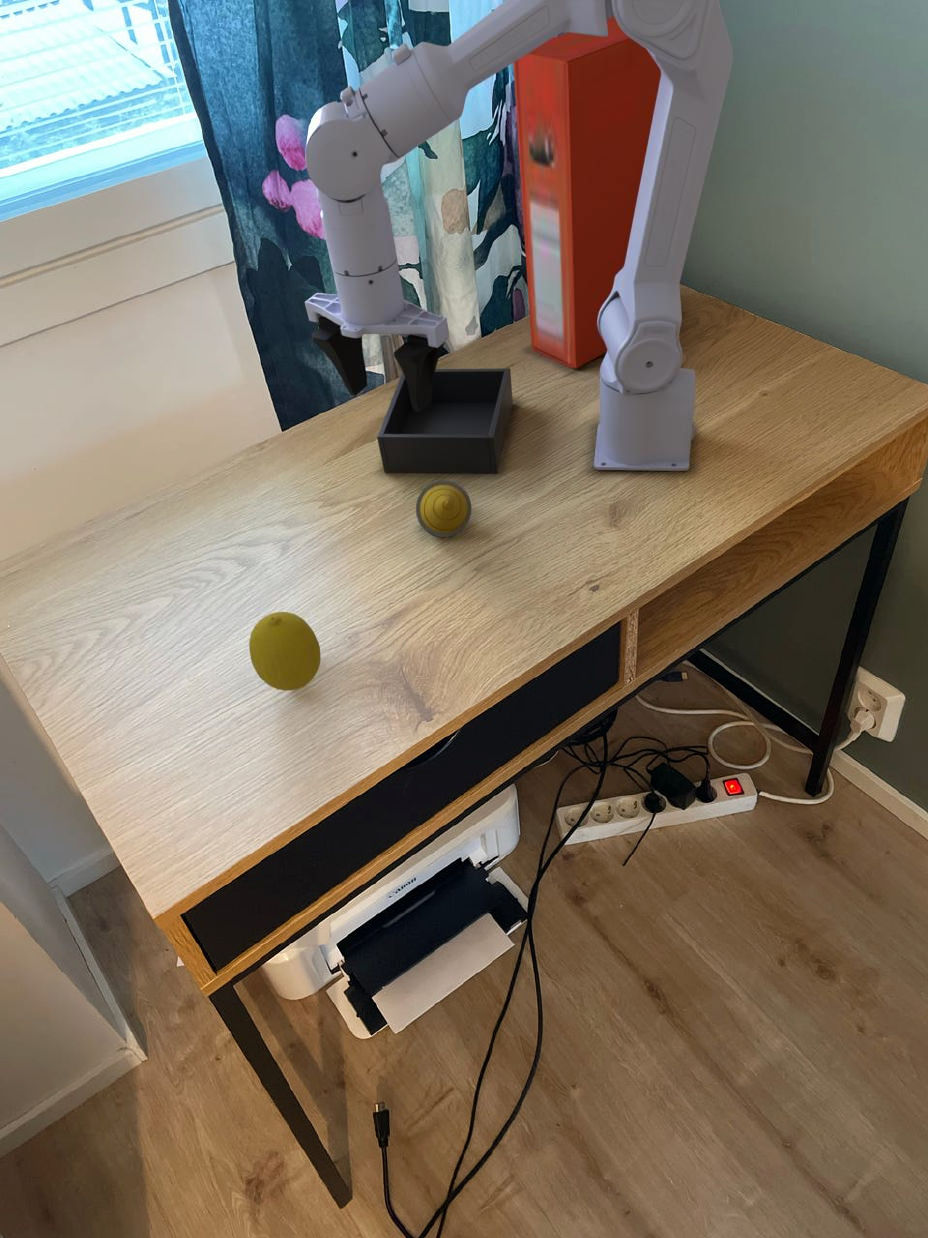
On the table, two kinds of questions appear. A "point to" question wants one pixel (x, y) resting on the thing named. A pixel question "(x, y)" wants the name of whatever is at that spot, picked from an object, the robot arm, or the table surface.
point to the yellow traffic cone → (443, 509)
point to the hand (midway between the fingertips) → (390, 398)
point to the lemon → (284, 651)
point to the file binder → (580, 178)
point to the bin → (449, 424)
